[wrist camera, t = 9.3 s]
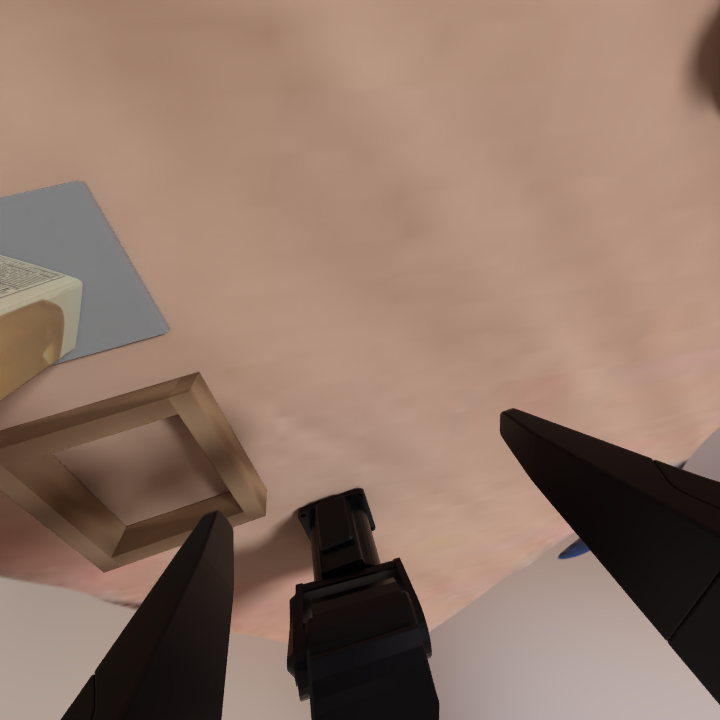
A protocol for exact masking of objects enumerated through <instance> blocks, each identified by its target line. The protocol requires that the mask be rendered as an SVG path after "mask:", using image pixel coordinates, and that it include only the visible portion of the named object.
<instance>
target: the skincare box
mask: <svg viewBox="0 0 720 720" xmlns="http://www.w3.org/2000/svg"><path fill="white" fill-rule="evenodd" d="M82 288H83V284H82V282H81V281H80V280H79V279H77V278H75V277H71V276H68V275H65V274H62V273H59V272H56V271H52V270H49V269H46V268H43V267H40V266H36V265H33V264H30V263H26V262H23V261H20V260H16V259H13V258H10V257H6V256H3V255H0V400H2V399H3V398H5V397H6V396H7V395H9V394H10V393H12V392H13V391H14V390H16V389H17V388H19V387H20V386H21V385H23V384H24V383H26V382H27V381H29V380H30V379H31V378H33V377H34V376H36V375H37V374H38V373H40V372H41V371H43V370H44V369H46V368H47V367H49V366H50V365H51V364H53V363H54V362H56V361H57V360H59V359H60V358H62V357H63V356H64V355H66V354H67V353H68V352H70V351H71V350H73V349H74V348H75V346H76V339H77V332H78V325H79V318H80V310H81V299H82Z"/></svg>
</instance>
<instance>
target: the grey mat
mask: <svg viewBox="0 0 720 720" xmlns="http://www.w3.org/2000/svg"><path fill="white" fill-rule="evenodd" d="M0 255H3V256H6V257H10V258H13V259H16V260H20V261H23V262H26V263H30V264H33V265H36V266H40V267H43V268H46V269H49V270H52V271H56V272H59V273H62V274H65V275H68V276H71V277H75V278H77V279H79V280H80V281H81V282H82V284H83V288H82V299H81V310H80V318H79V325H78V332H77V339H76V346H75V348H74V349H73V350H71V351H70V352H68V353H67V354H66V355H64V356H63V357H62V358H60V359H59V360H57V361H56V362H54V363H53V364H51V365H54V364H58V363H61V362H65V361H69V360H72V359H76V358H79V357H83V356H86V355H90V354H94V353H97V352H101V351H104V350H108V349H111V348H115V347H118V346H122V345H126V344H129V343H133V342H136V341H140V340H143V339H147V338H151V337H154V336H158V335H161V334H165V333H167V332H168V331H169V330H170V328H169V327H168V325H167V323H166V321H165V320H164V318H163V316H162V314H161V313H160V311H159V309H158V308H157V306H156V304H155V302H154V301H153V299H152V297H151V296H150V294H149V292H148V290H147V289H146V287H145V285H144V283H143V282H142V280H141V278H140V277H139V275H138V273H137V271H136V270H135V268H134V266H133V265H132V263H131V261H130V259H129V258H128V256H127V254H126V252H125V251H124V249H123V247H122V246H121V244H120V242H119V240H118V239H117V237H116V235H115V234H114V232H113V230H112V228H111V227H110V225H109V223H108V221H107V220H106V218H105V216H104V215H103V213H102V211H101V209H100V208H99V206H98V204H97V203H96V201H95V199H94V197H93V196H92V194H91V192H90V190H89V189H88V187H87V185H86V184H85V182H83V181H73V182H69V183H64V184H60V185H55V186H51V187H47V188H42V189H38V190H33V191H29V192H24V193H20V194H15V195H11V196H6V197H2V198H0ZM51 365H50V366H51Z"/></svg>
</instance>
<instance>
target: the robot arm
mask: <svg viewBox="0 0 720 720" xmlns="http://www.w3.org/2000/svg"><path fill="white" fill-rule="evenodd" d="M500 433H501V436H502V438H503V439H504V441H505V442H506V444H507V445H508V447H509V448H510V450H511V451H512V453H513V454H514V456H515V457H516V458H517V460H518V461H519V463H520V464H521V466H522V467H523V469H524V470H525V472H526V473H527V474H528V476H529V477H530V479H531V480H532V481H533V482H534V484H535V485H536V486H537V487H538V488H539V490H540V491H541V492H542V493H543V494H544V496H545V497H546V498H547V499H548V500H549V502H550V503H551V504H552V505H553V506H554V508H555V509H556V510H557V511H558V512H559V513H560V515H561V516H562V517H563V518H564V519H565V521H566V522H567V523H568V524H569V525H570V527H571V528H572V529H573V530H574V531H575V533H576V534H577V535H578V536H579V537H580V539H581V540H582V541H583V542H584V543H585V544H586V546H587V547H588V548H589V549H590V550H591V552H592V553H593V554H594V555H595V556H596V557H597V559H598V560H599V561H600V562H601V564H602V565H603V566H604V567H605V568H606V569H607V571H608V572H609V573H610V574H611V575H612V577H613V578H614V579H615V580H616V581H617V583H618V584H619V585H620V586H621V587H622V589H623V590H624V591H625V592H626V593H627V595H628V596H629V597H630V598H631V599H632V600H633V602H634V603H635V604H636V605H637V606H638V608H639V609H640V610H641V611H642V612H643V613H644V615H645V616H646V617H647V618H648V620H649V621H650V622H651V623H652V624H653V626H654V627H655V628H656V629H657V630H658V631H659V633H660V634H661V635H662V636H663V637H664V639H665V640H667V641H668V644H669V645H670V646H671V647H672V649H673V650H674V651H675V652H676V653H677V654H678V656H679V657H680V658H681V659H682V660H683V662H684V663H685V664H686V665H687V666H688V668H689V669H690V670H691V671H692V672H693V674H694V675H695V676H696V677H697V678H698V679H699V681H700V682H701V683H702V684H703V685H704V686H705V688H706V689H707V690H708V691H709V693H710V694H711V695H712V696H713V697H714V698H715V700H716V701H717V702H718V703H719V705H720V482H718V481H715V480H712V479H708V478H705V477H702V476H700V475H697V474H693V473H691V472H688V471H685V470H682V469H680V468H677V467H674V466H671V465H668V464H666V463H663V462H660V461H657V460H652V459H651V458H649V457H646V456H643V455H641V454H638V453H635V452H633V451H630V450H627V449H624V448H622V447H619V446H616V445H613V444H611V443H608V442H605V441H602V440H600V439H597V438H594V437H591V436H589V435H586V434H583V433H581V432H578V431H575V430H572V429H570V428H567V427H564V426H561V425H559V424H556V423H553V422H550V421H548V420H545V419H542V418H540V417H537V416H534V415H531V414H529V413H526V412H523V411H520V410H518V409H514V408H512V409H508V410H506V411H503V412H501V414H500ZM298 518H299V520H300V522H301V524H302V526H303V528H304V529H305V531H306V533H307V535H308V537H309V539H310V541H311V549H312V560H313V572H314V581H313V582H310V583H306V584H303V583H301V584H297V585H296V594H295V596H293V597H292V598H291V599H290V631H289V643H288V654H287V670H288V672H289V673H290V674H291V675H292V676H293V677H294V678H295V681H296V686H298V690H299V697H300V700H301V701H304V700H307V699H310V705H311V718H312V720H439V700H438V697H437V694H436V690H435V686H434V683H433V679H432V675H431V671H430V667H429V663H428V658H431V655H432V650H431V642H430V636H429V631H428V627H427V624H426V620H425V617H424V613H423V611H422V608H421V605H420V603H419V600H418V598H417V596H416V593H415V591H414V589H413V587H412V584H411V582H410V580H409V578H408V575H407V573H406V571H405V569H404V566H403V564H402V562H401V560H400V558H396V559H393V561H389V562H385V563H382V564H381V563H380V560H379V556H378V553H377V549H376V545H375V542H374V538H373V535H372V531H374V530H375V524H374V521H373V518H372V515H371V512H370V509H369V505H368V502H367V499H366V496H365V493H364V490H363V489H361V488H359V489H356V490H353V491H350V492H347V493H344V494H341V495H339V496H336V497H333V498H330V499H327V500H324V501H322V502H319V503H316V504H313V505H310V506H307V507H305V508H302V509H300V510H299V511H298ZM233 589H234V552H233V528H232V525H231V524H230V522H229V521H228V520H227V518H226V517H225V515H224V514H223V513H222V511H221V510H214V511H212V512H209V513H206V514H204V515H203V516H202V518H201V519H200V521H199V522H198V523H197V525H196V526H195V528H194V529H193V531H192V532H191V533H190V535H189V536H188V538H187V539H186V541H185V542H184V544H183V545H182V546H181V548H180V549H179V551H178V552H177V554H176V555H175V556H174V558H173V559H172V561H171V562H170V564H169V565H168V567H167V568H166V569H165V571H164V572H163V574H162V575H161V577H160V578H159V580H158V581H157V582H156V584H155V585H154V587H153V588H152V590H151V591H150V592H149V594H148V595H147V597H146V598H145V600H144V601H143V603H142V604H141V605H140V607H139V608H138V610H137V611H136V613H135V614H134V616H133V617H132V618H131V620H130V621H129V623H128V624H127V626H126V627H125V628H124V630H123V631H122V633H121V634H120V636H119V637H118V639H117V640H116V642H115V643H114V644H113V646H112V647H111V649H110V650H109V652H108V653H107V654H106V656H105V657H104V659H103V660H102V662H101V663H100V664H99V666H98V667H97V669H96V670H95V675H92V676H91V677H90V679H89V680H88V682H87V683H86V684H85V686H84V687H83V689H82V690H81V692H80V693H79V695H78V696H77V698H76V699H75V700H74V702H73V703H72V704H71V706H70V707H69V709H68V710H67V711H66V713H65V714H64V716H63V717H62V718H61V720H221V717H222V707H223V696H224V686H225V675H226V665H227V655H228V644H229V634H230V623H231V613H232V602H233Z"/></svg>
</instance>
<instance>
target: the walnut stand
mask: <svg viewBox="0 0 720 720" xmlns="http://www.w3.org/2000/svg"><path fill="white" fill-rule="evenodd" d="M177 414H179V416H180V417H181V419H182V420H183V422H184V423H185V425H186V426H187V428H188V429H189V431H190V432H191V434H192V435H193V437H194V438H195V440H196V441H197V443H198V444H199V446H200V447H201V449H202V450H203V452H204V453H205V455H206V456H207V458H208V459H209V461H210V462H211V463H212V465H213V466H214V468H215V469H216V471H217V472H218V474H219V475H220V477H221V478H222V480H223V481H224V483H225V484H226V486H227V487H228V489H229V490H230V492H228V493H225V494H222V495H219V496H216V497H213V498H210V499H207V500H204V501H201V502H198V503H195V504H192V505H189V506H186V507H183V508H180V509H177V510H175V511H172V512H169V513H166V514H163V515H160V516H157V517H154V518H151V519H148V520H145V521H142V522H139V523H136V524H133V525H130V526H127V527H126V526H125V525H124V524H123V523H122V522H121V521H120V520H119V519H118V518H117V517H116V516H115V515H114V514H113V513H111V512H110V511H109V510H108V509H107V508H106V507H105V506H104V505H103V504H102V503H101V502H100V501H99V500H98V499H97V498H96V497H95V496H94V495H93V494H92V493H91V492H90V491H89V490H88V489H87V488H86V487H85V486H84V485H83V484H82V483H81V482H80V481H79V480H77V479H76V478H75V477H74V476H73V475H72V474H71V473H70V472H69V471H68V470H67V469H66V468H65V467H64V466H63V465H62V464H61V463H60V462H59V461H58V460H57V459H56V458H55V457H54V456H53V455H52V454H51V453H54V452H57V451H60V450H64V449H67V448H70V447H73V446H77V445H80V444H83V443H86V442H90V441H93V440H96V439H99V438H103V437H106V436H109V435H112V434H116V433H119V432H122V431H125V430H129V429H132V428H135V427H138V426H142V425H145V424H148V423H151V422H155V421H158V420H161V419H164V418H167V417H171V416H174V415H177ZM0 490H1V491H2V492H3V493H5V494H6V495H7V496H8V497H10V498H11V499H12V500H14V501H15V502H16V503H17V504H19V505H20V506H21V507H22V508H24V509H25V510H26V511H27V512H29V513H30V514H31V515H32V516H34V517H35V518H36V519H37V520H39V521H40V522H41V523H42V524H44V525H45V526H46V527H47V528H49V529H50V530H51V531H52V532H54V533H55V534H56V535H57V536H59V537H60V538H61V539H63V540H64V541H65V542H66V543H68V544H69V545H70V546H71V547H73V548H74V549H75V550H76V551H78V552H79V553H80V554H81V555H83V556H84V557H85V558H86V559H88V560H89V561H90V562H91V563H93V564H94V565H95V566H96V567H98V568H99V569H100V570H101V571H103V572H107V571H110V570H113V569H116V568H119V567H121V566H124V565H127V564H130V563H133V562H136V561H138V560H141V559H144V558H147V557H150V556H153V555H156V554H158V553H161V552H164V551H167V550H170V549H173V548H175V547H178V546H181V545H183V544H184V542H185V541H186V539H187V538H188V536H189V535H190V533H191V532H192V531H193V529H194V528H195V526H196V525H197V523H198V522H199V521H200V519H201V518H202V516H203V515H204V514H206V513H209V512H212V511H214V510H221V511H222V513H223V514H224V515H225V517H226V518H227V520H228V521H229V522H230V524H231V525H232V527H235V526H238V525H241V524H244V523H246V522H249V521H252V520H255V519H258V518H261V517H264V516H266V498H267V489H266V488H265V486H264V484H263V482H262V481H261V479H260V477H259V476H258V474H257V472H256V470H255V469H254V467H253V465H252V463H251V462H250V460H249V458H248V456H247V455H246V453H245V451H244V449H243V448H242V446H241V444H240V442H239V441H238V439H237V437H236V435H235V434H234V432H233V430H232V428H231V427H230V425H229V423H228V421H227V420H226V418H225V416H224V414H223V413H222V411H221V409H220V407H219V406H218V404H217V402H216V400H215V399H214V397H213V395H212V393H211V392H210V390H209V388H208V386H207V385H206V383H205V381H204V379H203V378H202V376H201V374H200V372H197V373H194V374H190V375H187V376H184V377H180V378H177V379H173V380H170V381H167V382H163V383H160V384H157V385H153V386H150V387H146V388H143V389H140V390H136V391H133V392H130V393H126V394H123V395H119V396H116V397H113V398H109V399H106V400H103V401H99V402H96V403H92V404H89V405H86V406H82V407H79V408H76V409H72V410H69V411H65V412H62V413H59V414H55V415H52V416H49V417H45V418H42V419H38V420H35V421H32V422H28V423H25V424H22V425H18V426H15V427H11V428H8V429H5V430H1V431H0Z"/></svg>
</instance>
